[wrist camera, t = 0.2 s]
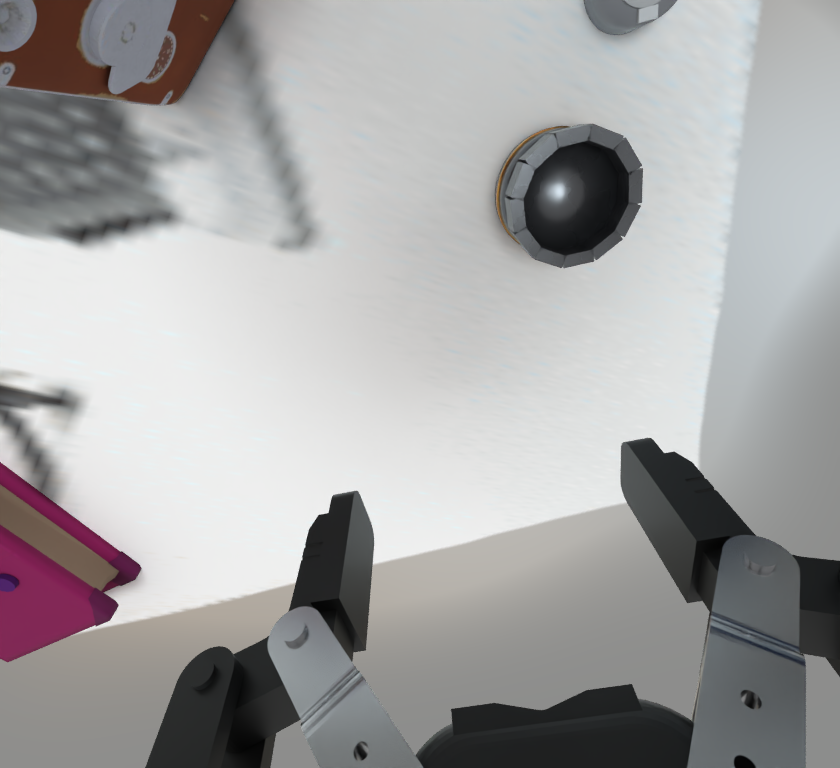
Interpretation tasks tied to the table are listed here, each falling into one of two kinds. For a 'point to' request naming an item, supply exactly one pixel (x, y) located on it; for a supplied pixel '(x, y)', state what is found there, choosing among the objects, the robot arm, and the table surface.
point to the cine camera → (107, 46)
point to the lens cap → (625, 13)
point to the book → (51, 571)
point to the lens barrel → (569, 193)
